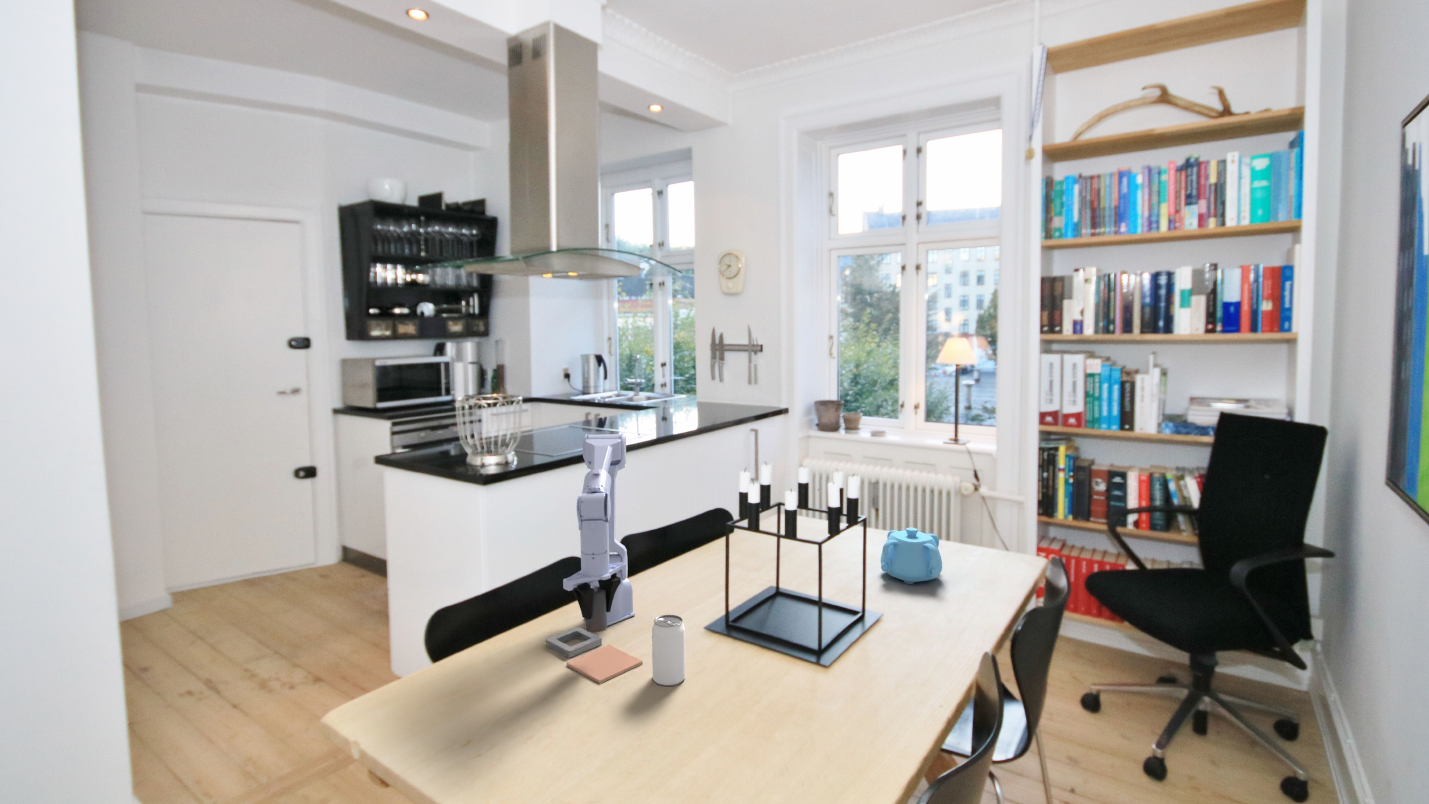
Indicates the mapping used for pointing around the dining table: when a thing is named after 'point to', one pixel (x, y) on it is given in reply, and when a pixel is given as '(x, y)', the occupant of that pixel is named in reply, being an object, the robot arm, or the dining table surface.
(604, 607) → the plug
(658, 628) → the can
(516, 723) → the dining table surface
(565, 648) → the socket collar
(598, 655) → the tile
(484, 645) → the dining table surface
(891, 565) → the decorative pot
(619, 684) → the dining table surface
